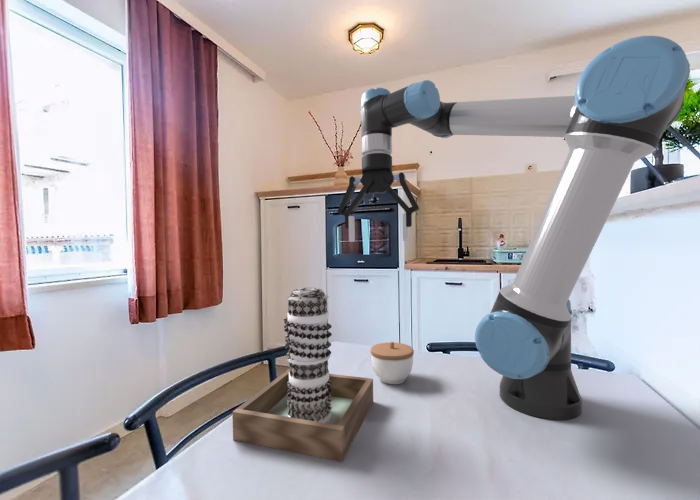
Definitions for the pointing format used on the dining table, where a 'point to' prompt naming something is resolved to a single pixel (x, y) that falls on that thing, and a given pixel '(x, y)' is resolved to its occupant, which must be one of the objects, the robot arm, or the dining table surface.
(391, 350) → the lidded jar
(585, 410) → the dining table surface
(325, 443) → the wooden drawer box
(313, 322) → the decorative candle
